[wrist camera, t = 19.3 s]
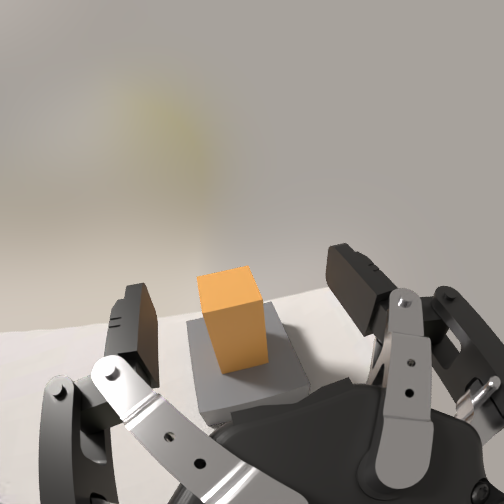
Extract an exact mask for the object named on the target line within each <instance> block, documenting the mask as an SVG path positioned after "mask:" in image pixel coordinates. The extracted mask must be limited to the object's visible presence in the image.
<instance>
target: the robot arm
mask: <svg viewBox="0 0 504 504" xmlns="http://www.w3.org/2000/svg"><path fill="white" fill-rule="evenodd" d="M326 281H327V284H328V286H329V288H330V289H331V291H332V292H333V294H334V295H335V296H336V298H337V299H338V300H339V302H340V303H341V305H342V306H343V307H344V309H345V310H346V312H347V313H348V315H349V316H350V317H351V319H352V320H353V322H354V323H355V325H356V326H357V327H358V329H359V330H360V332H361V333H362V335H363V336H364V337H365V336H368V335H370V334H374V335H375V336H376V337H375V339H374V344H373V352H372V359H371V365H370V371H369V376H368V380H367V383H366V384H352V382H351V380H350V379H349V377H348V378H345V379H343V380H340V381H337V382H335V383H332V384H329V385H326V386H324V387H321V388H320V389H318V390H317V391H315V392H313V393H312V394H310V395H309V396H307V397H305V398H304V399H302V400H300V401H299V402H297V403H293V404H279V405H260V406H256V407H252V408H248V409H243V410H239V411H234V412H230V413H231V417H232V420H231V421H228V422H226V423H225V424H223V425H221V426H220V427H219V428H217V429H216V430H215V431H214V432H213V433H212V434H211V435H210V436H208V435H207V434H205V433H204V432H203V431H202V430H200V429H199V428H198V427H197V426H196V425H194V424H193V423H192V422H191V421H190V420H188V419H187V418H186V417H185V416H184V415H183V414H182V413H180V412H179V411H178V410H177V409H176V408H175V407H174V406H173V405H172V404H170V403H169V402H168V401H167V400H166V399H165V398H164V397H163V396H162V395H160V394H157V393H156V392H155V391H154V390H153V389H152V388H159V387H160V386H159V365H158V321H157V315H156V311H155V308H154V306H153V303H152V301H151V298H150V296H149V293H148V290H147V287H146V285H145V284H144V283H139V284H134V285H129V286H127V287H126V291H125V297H124V299H120V300H117V302H116V303H115V305H114V306H113V308H112V310H111V315H110V321H109V326H108V327H109V329H108V332H107V338H106V345H105V352H104V358H102V359H101V360H99V361H98V362H97V363H96V365H95V366H94V368H93V371H92V374H91V375H89V376H87V377H84V378H82V379H79V380H77V381H74V382H73V381H72V380H71V379H70V378H69V377H68V376H65V375H58V376H55V377H54V378H52V379H51V380H50V381H49V382H48V383H47V385H46V387H45V390H44V396H43V403H42V412H41V422H40V436H39V489H40V502H41V504H119V501H118V496H117V490H116V483H115V476H114V468H113V459H112V448H111V435H110V427H113V426H115V425H118V424H120V423H124V425H125V426H126V427H127V428H128V430H129V431H130V432H131V433H132V434H133V435H134V437H135V438H136V439H137V440H138V441H139V442H140V443H141V444H142V445H143V447H144V448H145V449H146V450H147V451H148V452H149V453H150V454H151V455H152V456H153V457H154V458H155V459H156V460H157V461H158V462H159V463H160V464H161V465H162V466H163V467H164V468H165V469H166V470H167V471H168V472H169V473H170V474H171V475H173V476H174V477H175V478H176V479H177V480H178V481H179V482H180V484H179V486H178V488H177V489H176V491H175V492H174V494H173V496H172V497H171V499H170V501H169V502H168V504H504V493H502V492H501V491H499V490H498V489H497V488H495V487H494V486H493V485H492V484H491V483H490V482H489V481H488V480H487V477H486V474H485V470H484V465H483V453H482V446H483V445H484V444H485V443H487V442H488V441H489V440H490V439H491V438H492V437H493V436H494V435H495V434H497V433H498V432H499V431H501V430H502V429H503V428H504V345H503V343H502V342H501V341H500V339H499V338H498V337H497V336H496V334H495V333H494V332H493V331H492V330H491V328H490V327H489V326H488V325H487V324H486V322H485V321H484V320H483V319H482V318H481V317H480V315H479V314H478V313H477V312H476V311H475V310H474V309H473V308H472V306H471V305H469V303H468V302H467V301H466V300H465V299H464V298H463V297H462V296H461V295H460V293H459V292H458V291H456V290H455V289H453V288H451V287H448V286H440V287H438V288H437V289H436V291H435V293H434V296H432V297H419V296H418V295H417V294H416V293H415V292H414V291H411V290H409V289H405V288H397V287H396V286H395V285H394V284H393V283H392V282H391V280H390V279H389V278H388V277H387V276H386V275H385V274H384V273H383V272H382V271H381V270H379V268H378V267H377V266H376V265H374V263H373V262H372V261H371V260H370V259H369V258H368V257H367V256H365V255H363V254H361V253H359V252H355V251H354V250H353V249H352V248H351V247H350V246H349V245H348V244H346V243H343V244H338V245H334V246H330V247H329V249H328V257H327V266H326ZM449 328H450V330H451V331H452V332H453V333H454V335H455V336H456V337H457V339H458V340H459V341H460V344H461V351H460V353H459V351H458V350H457V349H456V347H455V346H454V345H453V343H452V342H451V341H450V339H449V338H448V337H447V335H446V333H447V331H448V329H449ZM432 367H433V368H434V370H435V371H436V373H437V374H438V376H439V377H440V379H441V381H442V382H443V384H444V385H445V387H446V388H447V390H448V392H449V393H450V395H451V397H452V398H453V400H454V402H455V403H456V412H457V413H456V414H455V416H454V417H453V416H450V415H447V414H444V413H442V412H439V411H437V410H434V409H431V389H432V388H431V386H432Z"/></svg>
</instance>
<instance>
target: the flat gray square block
mask: <svg viewBox="0 0 504 504" xmlns="http://www.w3.org/2000/svg"><path fill="white" fill-rule="evenodd" d="M263 307H264V317H265V328H266V339H267V350H268V361H269V363H266V364H262V365H258V366H254V367H250V368H246V369H242V370H238V371H234V372H229V373H225V374H222V373H221V370H220V367H219V364H218V361H217V358H216V355H215V352H214V349H213V346H212V343H211V340H210V337H209V333H208V330H207V327H206V324H205V321H204V318H199V319H195V320H190V321H186V323H187V332H188V340H189V348H190V356H191V363H192V370H193V377H194V384H195V390H196V396H197V402H198V408H199V413H200V415H201V416H202V418H203V419H204V421H205V422H206V424H207V425H208V426H209V425H214V424H219V423H224V422H228V421H231V420H232V417H231V413H230V412H234V411H239V410H243V409H248V408H252V407H256V406H260V405H279V404H293V403H297V402H299V401H300V400H302V399H304V398H305V397H307V396H308V395H309V389H310V383H309V380H308V378H307V376H306V374H305V372H304V370H303V368H302V366H301V363H300V361H299V359H298V357H297V355H296V353H295V351H294V349H293V346H292V344H291V342H290V340H289V338H288V336H287V334H286V332H285V329H284V327H283V325H282V323H281V321H280V319H279V317H278V314H277V312H276V310H275V308H274V306H273V304H272V302H268V303H264V304H263Z"/></svg>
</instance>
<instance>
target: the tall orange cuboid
mask: <svg viewBox="0 0 504 504" xmlns="http://www.w3.org/2000/svg"><path fill="white" fill-rule="evenodd" d="M197 282H198V289H199V296H200V302H201V308H202V314H203V317H204V321H205V324H206V327H207V330H208V333H209V337H210V340H211V343H212V346H213V349H214V352H215V355H216V358H217V361H218V364H219V367H220V370H221V373H222V374H225V373H229V372H234V371H238V370H242V369H246V368H250V367H254V366H258V365H262V364H266V363H269V361H268V350H267V339H266V328H265V317H264V307H263V299H262V297H261V294H260V292H259V289H258V287H257V285H256V283H255V280H254V278H253V275H252V273H251V271H250V268H249V266H244V267H239V268H235V269H231V270H226V271H221V272H217V273H212V274H208V275H203V276H198V277H197Z"/></svg>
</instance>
